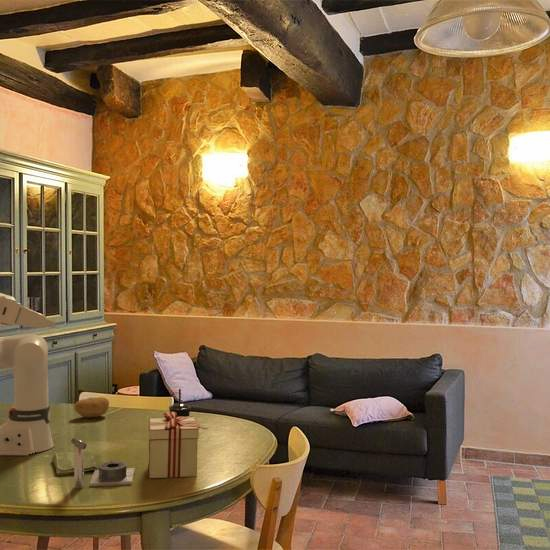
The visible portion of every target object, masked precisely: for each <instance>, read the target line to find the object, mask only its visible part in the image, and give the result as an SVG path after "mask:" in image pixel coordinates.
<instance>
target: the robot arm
mask: <svg viewBox="0 0 550 550" xmlns="http://www.w3.org/2000/svg"><path fill="white" fill-rule="evenodd" d="M56 323H57V322H55V321H52V320H50V319H47V316H46V315H44V314H42V313H40V312H37V311H36V310H33V309H30V308H29V307H27V306H24V305H22V303H20V302H18V301H17V300H16V299H15V297H14V296H12V295H8V294H5V293H2V292H0V327H1V328H2V327H5V326H15V325H16V326H22V327H27V328H28V327H29V328H35V329H43V328H44V327H47V328H52V329H54V328H55V327H56ZM48 355H49V346H48V343H47V340H46V339H44V337H42V336H41V335H38V334H34V333H33V334H31V333H30V334H23V335H14V336H6V337H0V371H5V370H9V369H13V382H14V383H13V385H14V406H12V407H10V408H9V410H8V413H7V416H8V420H6V421H5V422H4V423H2V424H1V425H0V456H30V455H29V454H31V455H32V453H33V454H35V452H36V453H40V452H43V451H47V450H50V449H52V448H53V447H54V442H53V438H52V433H51V432H52V431H51V426H50V422H51V409H50V408H51V406H50V404H49V370H48V369H49V366H48V365H49V363H48V361H49V359H48Z"/></svg>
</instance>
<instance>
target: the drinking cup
mask: <svg viewBox="0 0 550 550" xmlns="http://www.w3.org/2000/svg"><path fill="white" fill-rule="evenodd" d="M181 390H182V389H181V388H179V389H178V403H174V404H172V405H170V406H168V410H169V412H176V413H177V417H179V416H181V417H188V416H190V415H191V414H190V411H191V408H192V407H191V405H188V404H186V403H183V402H182V399H181V398H182V391H181Z"/></svg>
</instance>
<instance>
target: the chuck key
mask: <svg viewBox="0 0 550 550" xmlns="http://www.w3.org/2000/svg"><path fill="white" fill-rule="evenodd" d="M70 443H71V444H73V445H74V446H73V452H74V474H73V475H74V477H73V478H74V480H73V481H74V483H73V485H74V487H73V488H74V489H76V488H77V490H79V489H83V488H84V484H85V483H84V482H85V481H84V480H85V475H84V474H85V472H84V453H83V451H84V450H85V449H86V448H87V443H86V442H84V441H82V440H80V439H79V438H77V437H73V438H71V440H70Z"/></svg>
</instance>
